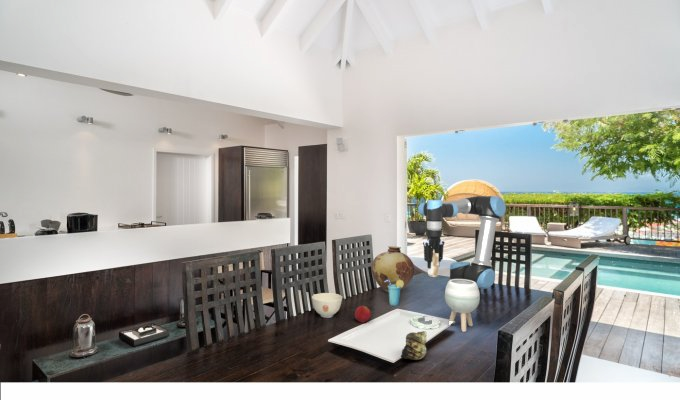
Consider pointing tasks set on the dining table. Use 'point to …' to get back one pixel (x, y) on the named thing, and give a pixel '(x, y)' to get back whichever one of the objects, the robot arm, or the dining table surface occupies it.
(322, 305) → the bowl
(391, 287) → the cup
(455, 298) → the planter
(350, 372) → the dining table surface
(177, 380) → the dining table surface
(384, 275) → the vase
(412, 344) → the seashell
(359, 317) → the apple
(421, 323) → the dish
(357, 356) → the dining table surface
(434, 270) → the tan wooden block
